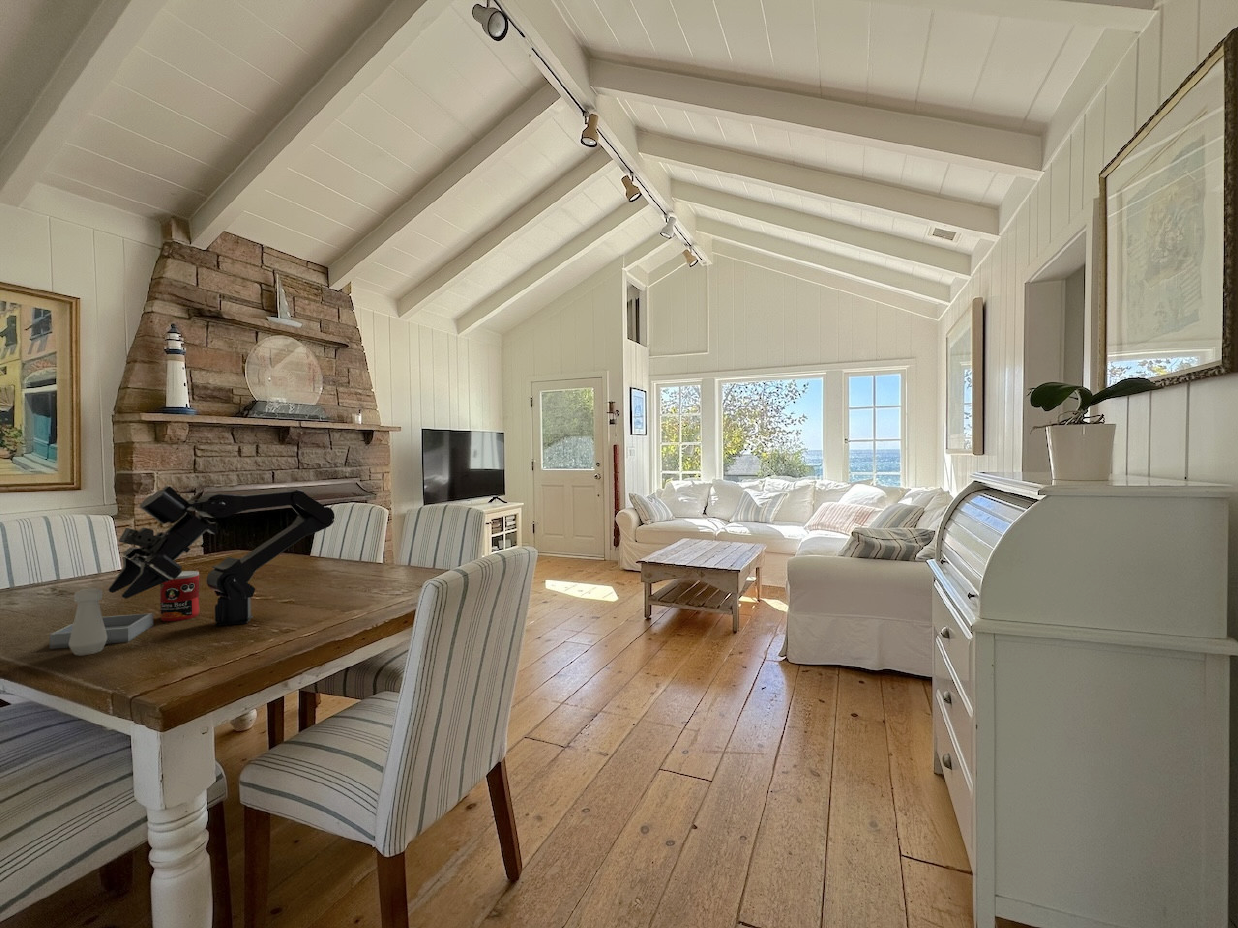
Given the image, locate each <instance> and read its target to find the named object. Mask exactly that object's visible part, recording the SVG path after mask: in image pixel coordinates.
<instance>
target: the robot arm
mask: <svg viewBox="0 0 1238 928" xmlns="http://www.w3.org/2000/svg"><path fill="white" fill-rule="evenodd" d="M284 506H290V507H291V509H293V511H294V512H295V513H296V514H297V516H296V518H295V520H294V521H293V522H292V524H291V525H289V526H288V527H286V528H285V529H283V530H281V531H280V532H278V533H277V534H275V535H274V536H272V538H270V539H268V540H267V541H265V542H263V543H262V544H260V545H258V547H256V548H254V549H253V550H251V551H250V552H249V553H247V554H245V555H244V556H242V557H240V558H235V557H231V556H227V557H226V558H224V559H223V560H222V561H221V562H220V563H219V564H216V565H212V567H211V569H212V568H213V569H212V570H210V571H209V572H208V574H207V577H206V579H205V581H206V585H207V586H208V588H209V589H211V590H212V591H214V593H215V596H216V597H218V598H217V604H215V605H214V622H215V624H214V625H215V627H220V626H230V625H231V626H233V625H243V624H247V623H248V622H249V621H250V620H252V619H253V617H254V616H253V614H252V598H253V597H254V595H255V592H256V588H255V587H254V586H253V585H252V584H250V583H248V582H249V581H250V580H252V577H253V576H254V575H255V573H256V572H257V570H259V569H260V568H261V567H264V565H266V564H268V563H269V562H270V561H272V560H273V559H275V558H276V557H277V556H279V555H280V554H282V553H283V552H285V551H286V550H287V549H289V548H290V547H292V546H293V545H295V544H297V542H299V541H300V540H301V539H303V538H305V537H306V536H310V535H312V534H316V533H319V532H321V531H322V530H325V529H327V528H328V527H331V525H333V524H334V522H335V512H334V510H333V509H332V508H331V507H328V506H325V505H323V504H322V503H320V502H318V501H317V500H315V499H314V498H312V497H310V495H308V494H306V493H305V492H304V491H303V490H301V489H289V490H284V491H281V490H280V491H273V492H262V493H250V494H229V493H228V494H227V493H226V494H224V493H212V492H210V493H208V492H207V493H205V494H202V495H201V496H200V497H199V498H198V499H188V500H186V499H185V498H184V497H183V496H181V495H180V494H179V493H178V492H177V491H176V490H175V489H174V488H173V487H171V486H168V485H167V486H164V487H163V488H162V489H160V490H157V491H156V492H155V493H153V494H152V495H149V496H147V497H146V498H145V499H144V500H143V501H142V502H141V503H140V504H139V508H140V509H141V510H142V511H144V512H145V513H147V514H148V515H149V516H151V517H152V518H153V519H154V520H156V521H158V522H159V523H160V524H161V525H164V524H167V523H169V524H170V525H171V524H173V525H171V526H170V527H169V528H168V529H167V530H165V531H159V532H157V533H156V534H154V533H155V531H154V529H150V528H147V527H142V528H141V529H139V530H137V529H134V528H128V527H125V529H124V530H123V532H122V534H121V535H120V537H119V539H118V542H120V543H123V544H127V545H130V546H132V545H133V547H129V548H128V549H126V550H125V551H124V552H123V553H122V555H123V556H122V557H121V560H122V564H123V566H122V568H121V569H120V572H119V573H118V575H117V576H116V578H115V579H114V580H113V582H112V584H110V586H109V588H108V589H107V590H108V592H110V593H112V594H114V593H116V592H117V591H120V590H122V589H123V588H126V587H127V588H126V589H125V590H124V591H123V593H122V594H121V597H122V598H123V599H125V600H126V599H129V598H131V597H134V596H136V595H138V594H141V593H143V592H146V591H147V590H150V589H153V588H155V587H157V586H160V584H162V583H164V582H168V581H170V579H168V578H167V577H169V578H171V579H175V578H176V577H177V576H178V575H179V574H180V573H182V566H181V565H180V564H179V563H177V562H176V560H177V559H178V558H179V557H180V556H181V555H183V553H185V554H188V553H189V551H191V548H190V547H191V546H192V545H193V544H194V543H195V542H196V541H198V539H199V538H201V536H203V535H204V534H205V533H206V532H207V533H209V534H211V535H212V534H213V535H217V534H218V533H219V532H218V522H215V521H212V522H211V521H209V520H208V519H207V518H214V519H222V518H226V517H231V516H233V515H237V514H239V513H241V512H244V511H245V512H246V511H250V510H258V509H266V508H267V509H268V508H275V507H276V508H278V507H284ZM194 511H195V512H197V513H199V515H198V514H197V515H195V514H193V513H192V512H194ZM205 517H206V518H205ZM134 546H135V547H134Z"/></svg>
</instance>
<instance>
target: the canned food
mask: <svg viewBox="0 0 1238 928" xmlns="http://www.w3.org/2000/svg"><path fill="white" fill-rule="evenodd" d="M167 578H168V579H170V581H168V582H164V583H162V584H159V591H160V592H159V593H160V595H159V597H160V598H159V599H160V600H159V601H160V605H159V607H160V609H159V610H160V612H159V613H160V614H159V615H160V619H161V620H162V621H164V622H177V621H178V622H179V621H184V620H189V619H192V618H195V617H197V616H198V615H199V613H200V572H199V571H198V570H185V571H184V570H183V571H182V573H180V574H179V575H178V576H177V577H176V578H175V579H171V578H169V577H167Z"/></svg>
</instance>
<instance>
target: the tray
mask: <svg viewBox="0 0 1238 928" xmlns="http://www.w3.org/2000/svg"><path fill="white" fill-rule="evenodd" d="M102 618H103V622H104V626H105V630H106V634H107V641H106V643H105V645H108V644H120V643H129V642H130V641H132V640H133V639H135V638H136V637H138V636H139V635H140V634H141V635H142V634H143V633H144V632H145V631H147V630H149V629H150V628H151V627H153V626H154V612H149V613H136V614H134V613H133V614H122V615H121V614H120V615H112V616H102ZM72 627H73V623H71V624H69V625H67V626H65V627H63V628H61V629H58V630H57V631H54V632H52V633H50V634H49V650H54V649H66V648H70V647H69V640H70V636H71V632H72Z"/></svg>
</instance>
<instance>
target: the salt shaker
mask: <svg viewBox="0 0 1238 928" xmlns="http://www.w3.org/2000/svg"><path fill="white" fill-rule="evenodd" d="M102 599H103V590H102V589H101V588H97V587H90V588H89V587H88V588H83V589H79V590H77V591H76V592H75V593H74V595H73V601H74V602H75V603H77V607H76V610H75V616H74V619H73V623H72V624H73V627H72V632H71V636H70V640H69V647H68V648H69V649H70V650H71V652H72V653H73V655H74V656H80V657H81V656H88V655H94V654H96V653H100V652H101V651H103V649H104V647H105V645H106V644H105V643H106V641H107V634H106V630H105V626H104V622H103V618H102V617H103V615H102V610H101V607H100V600H102Z"/></svg>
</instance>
